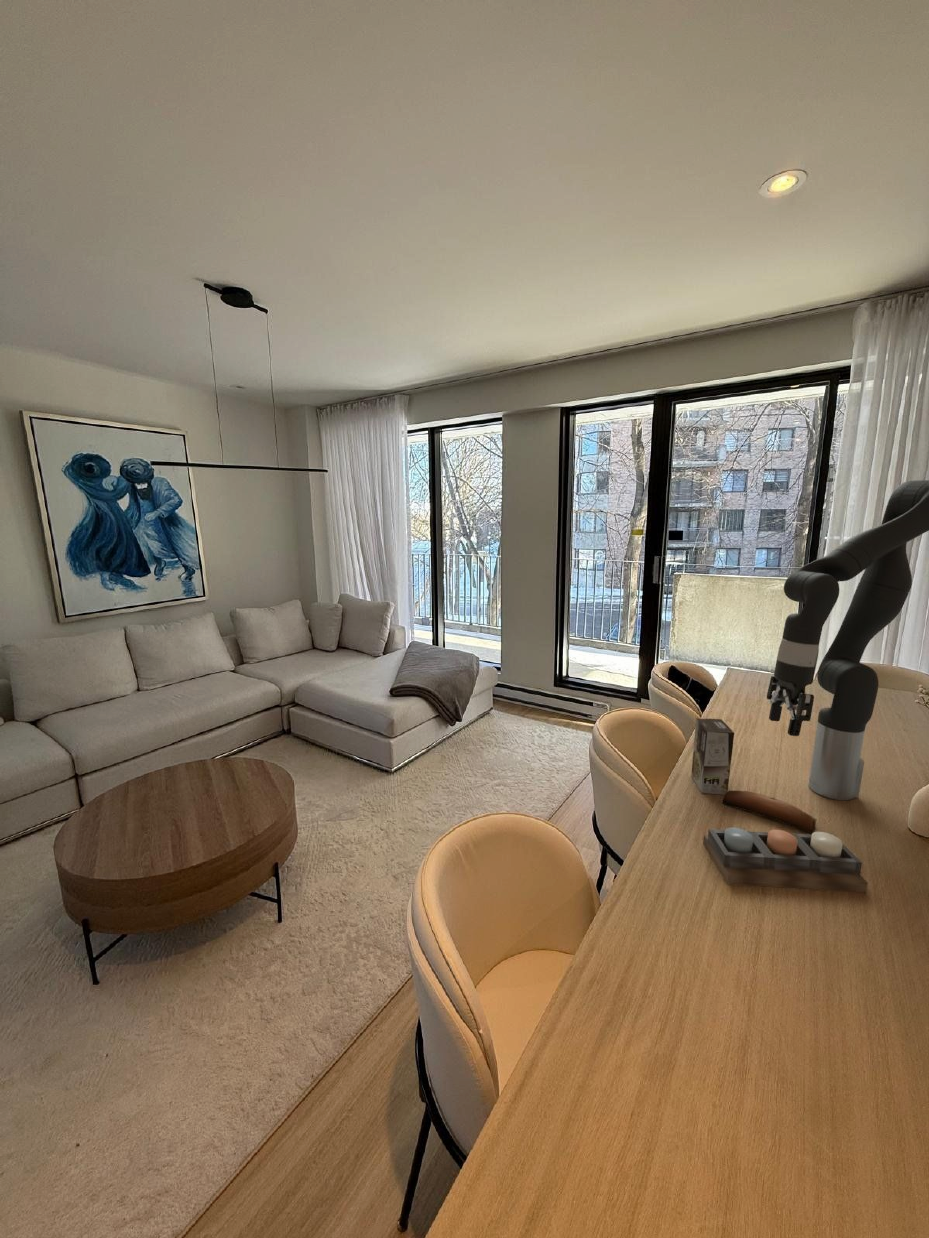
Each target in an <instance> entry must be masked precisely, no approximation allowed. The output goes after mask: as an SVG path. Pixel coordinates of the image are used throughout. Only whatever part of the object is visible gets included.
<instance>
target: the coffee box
mask: <svg viewBox="0 0 929 1238" xmlns="http://www.w3.org/2000/svg"><path fill="white" fill-rule="evenodd" d="M694 726H695V729H694V737H693V738H694V739H693V752H692V764H691V773H690V775H691V777H692V780H693V781H694V783H695V784H696V786H697V788H698V789H699V791H700V792H701V793H702V794H710V795H711V794H714V795H722V796H724V795H725V793H726V792H728V791H729V783H730V774H731V766H732V755H733V750H734V749H733V747H734V738H735V734H736V733H735V732H734V731H733V730H732V728H730V727H729V725H728V724H727V723H725V721H724V720H723V719H721V718H698V717H697V718H695V725H694Z"/></svg>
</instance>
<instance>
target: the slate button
mask: <svg viewBox="0 0 929 1238" xmlns="http://www.w3.org/2000/svg"><path fill="white" fill-rule="evenodd" d="M724 830H725V836H724V846H725V848H726V849H727V851H728V852H738V853H752V845H753V836H752V835H751V834H750V833H749V832H747V830H745V829H742V828H738V827H728V828H726V829H724Z"/></svg>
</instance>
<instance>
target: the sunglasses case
mask: <svg viewBox="0 0 929 1238" xmlns="http://www.w3.org/2000/svg"><path fill="white" fill-rule="evenodd" d="M722 798H723V799H722V805H726V806H730V807H734V808H736V809H740V810H744V811H747V812H751V813H756V814H757V815H760V816H764V817H765V818H769V819H770V820H771V819H772V820H775V821H777V822H780V823H783V824H785V825H788V826H792V827H795V828H797V829H801V830H803V831H806V832H808V833H811V835H812V833H814V832H815V827H816V824H817V823H816V822H817V820H818V819H817V818H815V817H814V816H813V815H811V814H809V813H807V812H806V811H803V810H802V809H800V808H799V807H797V806H795V805H793V804H791V803H788V802H786V801H784V800H780V799H777V798H775V797H773V796H769V795H765V794H761V793H758V792H753V791H748V790H728V792H726V793H725V795H723V797H722Z"/></svg>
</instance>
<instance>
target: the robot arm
mask: <svg viewBox="0 0 929 1238" xmlns="http://www.w3.org/2000/svg"><path fill="white" fill-rule="evenodd" d="M886 504H887V505H886V506H885V509H884V510H885V511H884V514H883V517H882V519H881V524H880V525H878V526H874V527H872V528H869V529H867V530H864V531H862V532H860V533H857V534H856V535H854V536H852V537H850V538H848V539H847V540H845V541H844V542H843V543H842V544H839V546H837V547H836V548H834V550H832V551H831V552H829V553H828V554H826V555H825V556H823V557H820V558H817V559H815V560H813V561H811V562H810V563H807V564H805V565H803V566H801V567H799V568H798V569H796V570H794V571H793V572H792V573H791V574H790V575H789V576H788V577H787V578H786V580H785V582H784V585H783V592H784V594H785V596H786V597H787V598H788V599H789V600H791V601H793V602H797V603H801V604H804V605H803V608H802V609H801V611H800V613H799V612H796V613H795V612H794V613H791V614H789V615H787V617H786V619H785V623H784V627H783V633H782V636H781V637H782V638H781V640H780V641H781V642H780V644H779V646H778V652H777V657H776V661H775V666H774V673H773V675H771V676H770V680H769V684H768V689H767V693H766V699H767V700H769V704H770V710H769V716H768V720H770V721H771V722H779V721H780V720H781V715H782V712H783V711H782V710H783V705H784V704H785V705H786V709H787V711H789V715H790V719H789V723H788V728H787V734H788V735H789V736H790V737H792V736H793V737H799V736H800V735H801V730H802V725H803V722H811V719H812V711H813V707H814V701H815V695H814V694H813V693H806V687H807V686H808V685H812V684H813V682H814V677H815V673H816V668H817V664H818V658H819V652H820V651H819V650H820V642H821V637H822V632H823V627H824V625H825V623H826V621H827V620H828V618H829V615H830V614H831V612H832V611H833V609H834V607H835V606H836V603H837V601H838V598H839V597H840V583H839V582H847V581H850V580H852V579H853V578H855V577H857V576H858V575H859V574H860V573H862V572H863V574H862V575H861V577H860V579H859V582H858V585H857V586H856V589H855V591H854V593H853V596H852V599H851V601H850V605H849V607H848V609H847V612H846V614H845V616H844V618H843V620H842V623H841V625H840V627H839V629H838V631H837V634H836V636H835V638H834V639H833V641H832V642H831V644H830V646H829V648H828V650H827V652H826V653H825V655H824V656H823V659H822V660H821V661H820V665H819V667H818V669H817V674H816V680H817V683H818V685H819V686H820V687H821V688H822V689H823V690H825V691H826V692H828V693H830V694H832V695H833V698H832V702H831V706H830V707H824V708H822V709H820V710H819V712H818V714H817V723H816V730H815V736H814V743H813V744H814V745H813V752H812V758H811V763H810V764H811V766H810V772H809V777H808V787H809V788H810V790H811V791H812V792H814V793H816V794H818V795H820V796H822V797H825V798H829V799H831V800H837V801H850V800H851V801H852V799H854V798H856V799H857V798H858V799H859V797H860V792H861V785H862V778H863V774H864V766H865V761H864V759H862V758H861V757H862V750H863V745H864V739H865V731H866V727H867V724H868V723H869V721H871V718H872V716H873V714H874V713H873V712H874V708H875V703H876V701H877V696H878V691H879V677H878V674H877V672H876V671H875V670H874V669H873V668H872V667H870V666H868V665H866V664H865V663H862V662H861V660H862V657H863V656H864V655H863V654H864V653H865V651H866V648H867V646H868V645H869V643H870V641H872V639H874V637H875V636H876V635H877V634H879V633H880V632H881V631H882V630H883V629H885V628H886V627H887V626H888V625H889V624H890V623H892V622H893V621H894V620H895V618H897V616H898V615H899V613H900V612H901V611H902V609H903V607H904V605H905V602H906V600H907V598H908V596H909V594H910V592H911V589H912V586H913V585H912V584H913V579H912V578H913V576H912V571H911V567H910V563H909V559H908V553H907V544H908V543H909V542H910V541H912V540H914V539H916V538H918V537H920V536H921V535H923V534H925V533H927V532H929V480H926V479H925V480H923V479H922V480H906V481H903V482H902V483H900V484H899V485H898V486H897V487H896V488H894V490H893V492H892V493H891V495H890V497H889V499H888V501H887V503H886Z"/></svg>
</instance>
